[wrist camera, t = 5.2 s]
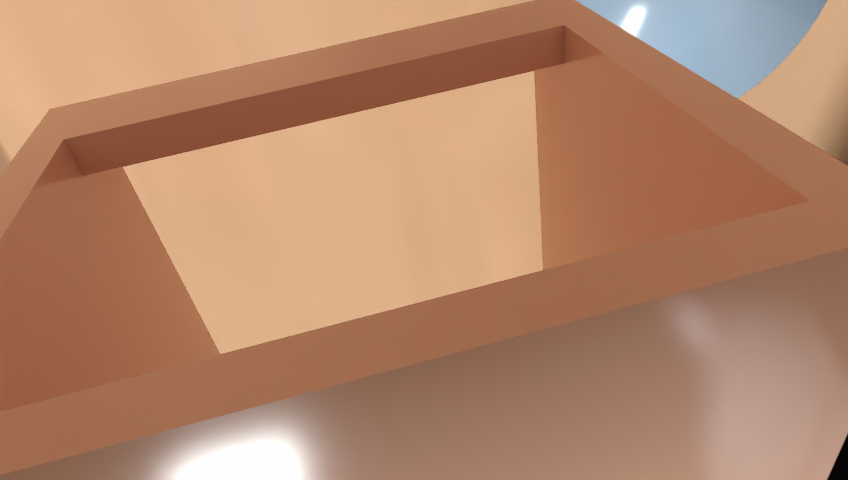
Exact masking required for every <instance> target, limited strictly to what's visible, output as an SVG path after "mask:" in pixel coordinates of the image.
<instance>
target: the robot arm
mask: <svg viewBox="0 0 848 480" xmlns="http://www.w3.org/2000/svg"><path fill="white" fill-rule="evenodd" d="M827 480H848V434H847V436H846V438H845V440H844V443H843V445H842V447H841V449H840V452H839V454H838V456H837V458H836V461H835V463H834V465H833V468H832V470H831V472H830V474H829V477H828V479H827Z"/></svg>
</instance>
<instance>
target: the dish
mask: <svg viewBox="0 0 848 480" xmlns="http://www.w3.org/2000/svg"><path fill="white" fill-rule="evenodd" d="M576 1H577V2H579V3H581V4H582V5H584V6H586V7H587V8H589V9H591V10H592V11H594V12H596V13H597V14H599V15H601V16H602V17H604V18H605V19H607V20H609V21H610V22H612V23H614V24H615V25H617V26H619V27H620V28H622V29H624V30H625V31H627V32H628V33H630V34H632V35H633V36H635V37H637V38H638V39H640V40H642V41H643V42H645V43H647V44H648V45H650V46H652V47H653V48H655V49H656V50H658V51H660V52H661V53H663V54H665V55H666V56H668V57H670V58H671V59H673V60H675V61H676V62H678V63H680V64H681V65H683V66H684V67H686V68H688V69H689V70H691V71H693V72H694V73H696V74H698V75H699V76H701V77H703V78H704V79H706V80H708V81H709V82H711V83H712V84H714V85H716V86H717V87H719V88H721V89H722V90H724V91H726V92H727V93H729V94H731V95H732V96H734V97H735V98H738V97H740V96H742V95H743V94H745V93H746V92H747V91H749V90H750V89H751V88H753V87H754V86H756V85H757V84H758V83H760V82H761V81H762V80H763V79H764V78H765V77H767V76H768V75H769V74H770V73H771V72H772V71H774V70H775V69H776V68H777V67H778V66H779V65H780V64H781V63H782V62H783V60H784V59H785V58H786V57H787V56H788V55H789V54H790V53H791V52H792V51H793V50H794V48H795V47H796V46H797V45H798V44H799V42H800V41H801V40H802V39H803V37H804V36H805V35H806V33H807V32H808V30H809V29H810V27H811V26H812V25H813V23H814V22H815V20H816V19H817V17H818V15H819V14H820V12H821V10H822V9H823V7H824V5H825V3H826V2H827V0H576Z"/></svg>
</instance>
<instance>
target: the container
mask: <svg viewBox="0 0 848 480" xmlns="http://www.w3.org/2000/svg"><path fill="white" fill-rule="evenodd" d="M530 71H534V78H535V100H536V122H537V144H538V166H539V188H540V210H541V232H542V254H543V270H542V271H539V272H535V273H531V274H527V275H523V276H519V277H516V278H512V279H508V280H504V281H500V282H496V283H492V284H489V285H485V286H481V287H477V288H473V289H469V290H466V291H462V292H458V293H454V294H450V295H446V296H443V297H439V298H435V299H431V300H427V301H423V302H420V303H416V304H412V305H408V306H404V307H400V308H397V309H393V310H389V311H385V312H381V313H377V314H374V315H370V316H366V317H362V318H358V319H354V320H350V321H347V322H343V323H339V324H335V325H331V326H327V327H324V328H320V329H316V330H312V331H308V332H304V333H301V334H297V335H293V336H289V337H285V338H281V339H278V340H274V341H270V342H266V343H262V344H258V345H255V346H251V347H247V348H243V349H239V350H235V351H232V352H228V353H224V354H220V353H219V351H218V349H217V347H216V345H215V343H214V341H213V340H212V338H211V336H210V334H209V332H208V330H207V328H206V326H205V324H204V322H203V320H202V318H201V317H200V315H199V313H198V311H197V309H196V307H195V305H194V303H193V301H192V299H191V297H190V295H189V294H188V292H187V290H186V288H185V286H184V284H183V282H182V280H181V278H180V276H179V274H178V272H177V271H176V269H175V267H174V265H173V263H172V261H171V259H170V257H169V255H168V253H167V251H166V249H165V248H164V246H163V244H162V242H161V240H160V238H159V236H158V234H157V232H156V230H155V228H154V226H153V225H152V223H151V221H150V219H149V217H148V215H147V213H146V211H145V209H144V207H143V205H142V203H141V202H140V200H139V198H138V196H137V194H136V192H135V190H134V188H133V186H132V184H131V182H130V180H129V179H128V177H127V175H126V173H125V171H124V169H123V167H124V166H128V165H132V164H136V163H141V162H145V161H149V160H154V159H158V158H162V157H166V156H171V155H175V154H179V153H183V152H188V151H192V150H196V149H201V148H205V147H209V146H213V145H218V144H222V143H226V142H231V141H235V140H239V139H243V138H248V137H252V136H256V135H261V134H265V133H269V132H273V131H278V130H282V129H286V128H290V127H295V126H299V125H303V124H308V123H312V122H316V121H320V120H325V119H329V118H333V117H338V116H342V115H346V114H350V113H355V112H359V111H363V110H368V109H372V108H376V107H380V106H385V105H389V104H393V103H397V102H402V101H406V100H410V99H415V98H419V97H423V96H427V95H432V94H436V93H440V92H445V91H449V90H453V89H457V88H462V87H466V86H470V85H475V84H479V83H483V82H487V81H492V80H496V79H500V78H504V77H509V76H513V75H517V74H522V73H526V72H530ZM847 434H848V166H847V165H846V164H844V163H842V162H841V161H839V160H838V159H836V158H834V157H833V156H831V155H829V154H828V153H826V152H824V151H823V150H821V149H819V148H818V147H816V146H814V145H813V144H811V143H810V142H808V141H806V140H805V139H803V138H801V137H800V136H798V135H796V134H795V133H793V132H791V131H790V130H788V129H787V128H785V127H783V126H782V125H780V124H778V123H777V122H775V121H773V120H772V119H770V118H768V117H767V116H765V115H763V114H762V113H760V112H759V111H757V110H755V109H754V108H752V107H750V106H749V105H747V104H745V103H744V102H742V101H740V100H739V99H737V98H735V97H734V96H732V95H731V94H729V93H727V92H726V91H724V90H722V89H721V88H719V87H717V86H716V85H714V84H712V83H711V82H709V81H708V80H706V79H704V78H703V77H701V76H699V75H698V74H696V73H694V72H693V71H691V70H689V69H688V68H686V67H684V66H683V65H681V64H680V63H678V62H676V61H675V60H673V59H671V58H670V57H668V56H666V55H665V54H663V53H661V52H660V51H658V50H656V49H655V48H653V47H652V46H650V45H648V44H647V43H645V42H643V41H642V40H640V39H638V38H637V37H635V36H633V35H632V34H630V33H628V32H627V31H625V30H624V29H622V28H620V27H619V26H617V25H615V24H614V23H612V22H610V21H609V20H607V19H605V18H604V17H602V16H601V15H599V14H597V13H596V12H594V11H592V10H591V9H589V8H587V7H586V6H584V5H582V4H581V3H579V2H577V1H576V0H534V1H530V2H525V3H521V4H516V5H512V6H508V7H503V8H499V9H494V10H490V11H485V12H481V13H476V14H472V15H467V16H463V17H458V18H454V19H450V20H445V21H441V22H436V23H432V24H427V25H423V26H418V27H414V28H409V29H405V30H401V31H396V32H392V33H387V34H383V35H378V36H374V37H369V38H365V39H360V40H356V41H352V42H347V43H343V44H338V45H334V46H329V47H325V48H320V49H316V50H311V51H307V52H302V53H298V54H294V55H289V56H285V57H280V58H276V59H271V60H267V61H262V62H258V63H253V64H249V65H245V66H240V67H236V68H231V69H227V70H222V71H218V72H213V73H209V74H204V75H200V76H195V77H191V78H187V79H182V80H178V81H173V82H169V83H164V84H160V85H155V86H151V87H146V88H142V89H138V90H133V91H129V92H124V93H120V94H115V95H111V96H106V97H102V98H97V99H93V100H89V101H84V102H80V103H75V104H71V105H66V106H62V107H57V108H53V109H50V110H49V111H48V112H47V114H46V115H45V116H44V118H43V119H42V120H41V122H40V123H39V124H38V126H37V127H36V129H35V130H34V131H33V133H32V134H31V135H30V137H29V138H28V139H27V141H26V142H25V143H24V145H23V146H22V147H21V149H20V150H19V151H18V153H17V154H16V156H15V157H14V158H13V160H12V161H11V162H10V164H9V165H8V166H7V168H6V169H5V171H4V172H3V173H2V174H1V176H0V480H827V479H828V477H829V474H830V472H831V470H832V468H833V465H834V463H835V461H836V458H837V456H838V454H839V452H840V449H841V447H842V445H843V443H844V440H845V438H846V436H847Z"/></svg>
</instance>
